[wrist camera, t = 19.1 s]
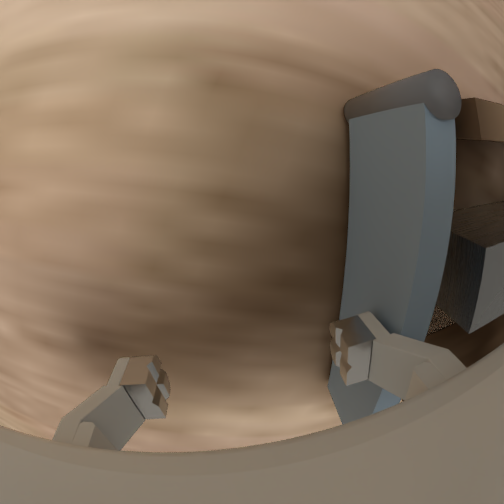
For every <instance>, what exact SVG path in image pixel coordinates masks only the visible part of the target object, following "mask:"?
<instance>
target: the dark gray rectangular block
mask: <svg viewBox="0 0 504 504" xmlns="http://www.w3.org/2000/svg"><path fill="white" fill-rule="evenodd" d="M436 305H437V306H438V307H439V308H440V309H441V310H443V311H444V312H445V313H446V314H447V315H448V316H449V317H451V318H452V319H453V320H454V321H455V322H456V323H457V324H458V325H459V326H461V327H462V328H463V329H464V330H465V331H466V332H467V333H468V334H470V333H472V332H473V331H475V330H477V329H479V328H481V327H482V326H484V325H486V324H487V323H489V322H491V321H492V320H494V319H496V318H497V317H499V316H501V315H502V314H504V201H502V202H496V203H491V204H486V205H481V206H476V207H471V208H466V209H461V210H455V211H453V215H452V224H451V231H450V238H449V244H448V250H447V256H446V261H445V266H444V271H443V276H442V280H441V285H440V289H439V293H438V297H437V301H436Z"/></svg>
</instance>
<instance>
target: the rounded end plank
mask: <svg viewBox="0 0 504 504" xmlns="http://www.w3.org/2000/svg"><path fill="white" fill-rule="evenodd" d="M460 110H461V96H460V92H459V89H458V87H457V85H456V83H455V82H454V80H453V79H452V78H451V77H450V76H449V75H448V74H447V73H446V72H444V71H442V70H439V69H433V70H430V71H427V72H424V73H420V74H417V75H414V76H411V77H408V78H405V79H402V80H400V81H397V82H394V83H391V84H388V85H386V86H383V87H380V88H378V89H375V90H373V91H370V92H368V93H365V94H363V95H360V96H358V97H355V98H353V99H350V100H349V101H348V102H347V103H346V105H345V107H344V115H345V118H346V120H347V122H348V123H349V134H350V195H349V220H348V237H347V251H346V263H345V274H344V284H343V293H342V301H341V309H340V316H339V320H342V319H346V318H349V317H353V316H356V315H358V314H361V313H364V312H367V311H369V312H371V313H372V314H373V315H374V316H375V317H376V319H377V320H378V321H379V322H380V323H381V324H382V325H383V326H384V328H385V329H386V330H387V331H388V332H389V333H390V334H392V333H396V334H399V335H402V336H405V337H409V338H412V339H415V340H418V341H422V342H424V341H425V338H426V335H427V332H428V328H429V325H430V322H431V319H432V315H433V312H434V308H435V305H436V301H437V297H438V293H439V289H440V285H441V280H442V276H443V271H444V266H445V261H446V256H447V250H448V244H449V238H450V231H451V224H452V215H453V206H454V194H455V176H456V131H455V118H456V117H457V116H458V115H459V113H460ZM328 389H329V391H330V394H331V396H332V399H333V401H334V404H335V407H336V409H337V412H338V414H339V417H340V419H341V422H342V424H346V423H349V422H352V421H355V420H358V419H360V418H363V417H366V416H369V415H371V414H374V413H377V412H379V411H382V410H384V409H387V408H389V407H392V406H394V405H396V404H399V402H400V400H401V398H399V397H398V396H396V395H394V394H392V393H390V392H388V391H387V390H385V389H383V388H381V387H380V386H378V385H376V384H374V383H373V382H371V381H369V379H367V380H364V381H361V382H358V383H355V384H351V385H348V386H346V384H345V383H344V381H343V379H342V377H341V375H340V367H338V366H336V365H335V363H334V361H332V366H331V372H330V377H329V382H328Z"/></svg>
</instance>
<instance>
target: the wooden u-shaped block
mask: <svg viewBox="0 0 504 504" xmlns="http://www.w3.org/2000/svg"><path fill="white" fill-rule="evenodd" d="M455 131H456V139H469V140H484V141H496V142H504V105H501V104H498V103H494V102H490V101H486V100H482V99H478V98H467V99H461V110H460V113H459V115H458V116H457V117H456V118H455ZM424 342H425V343H429V344H432V345H435V346H439V347H442V348H446V349H449V350H450V351H451V352H452V353H453V354H454V355H455V356H456V357H457V358H458V359H459V360H460V361H461V362H462V364H463V365H464V366H465V367H466V368H468V367H469V366H471V365H472V364H474V363H475V362H477V361H479V360H480V359H482V358H483V357H485V356H486V355H487V354H489V353H490V352H492V351H493V350H495V349H496V348H497V347H499V346H500V345H502V344H503V343H504V314H502V315H501V316H499V317H497V318H496V319H494V320H492V321H491V322H489V323H487V324H486V325H484V326H482V327H481V328H479V329H477V330H475V331H473V332H472V333H470V334H468V333H467V332H466V331H465V330H464V329H463V328H462V327H461V326H459V325H458V324H457V323H455V324H452V325H450V326H448V327H446V328H444V329H442V330H439V331H437V332H435V333H432V334H430V335H428V336H426V338H425V341H424ZM402 401H405V400H403V399H402Z"/></svg>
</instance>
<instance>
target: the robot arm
mask: <svg viewBox="0 0 504 504" xmlns="http://www.w3.org/2000/svg"><path fill="white" fill-rule="evenodd" d="M330 334H331V335H332V337H333V338H332V339H331V341H330V350H331V355H332V358H333V361H334V363H335V365H336V366H338V367H340V375H341V377H342V379H343V381H344V383H345V384H346V386H348V385H351V384H355V383H358V382H361V381H364V380H367V379H369V381H371V382H373V383H374V384H376V385H378V386H380V387H381V388H383V389H385V390H387V391H388V392H390V393H392V394H394V395H396V396H398V397H399V398H401V399H403V400H405V401H403V402H401V403H399V404H396V405H394V406H392V407H389V408H387V409H384V410H382V411H379V412H377V413H374V414H371V415H369V416H366V417H363V418H360V419H358V420H355V421H352V422H349V423H346V424H343V425H339V426H336V427H333V428H330V429H326V430H323V431H319V432H315V433H311V434H307V435H303V436H299V437H295V438H291V439H286V440H281V441H276V442H271V443H265V444H260V445H253V446H247V447H239V448H231V449H222V450H211V451H196V452H134V451H120V450H121V449H122V448H123V447H124V445H125V444H126V443H127V442H128V441H129V439H130V438H131V437H132V436H133V434H134V433H135V432H136V431H137V430H138V428H139V427H140V426H141V425H142V424H143V422H144V421H145V419H159V418H166V415H167V409H168V403H167V402H166V399H167V398H168V397H169V396H170V381H169V378H168V376H167V373H166V372H165V371H164V370H162V369H161V364H162V363H161V361H160V359H159V357H158V356H157V355H148V356H134V357H121V358H119V359H118V360H117V363H116V365H115V367H114V369H113V372H112V374H111V376H110V379H109V381H108V384H107V386H103V387H101V388H100V389H99V390H97V391H96V392H95V393H94V394H92V395H91V396H90V397H88V398H87V399H86V400H85V401H83V402H82V403H81V404H79V405H78V406H77V407H76V408H74V409H73V410H72V411H70V412H69V413H68V414H66V415H65V416H64V417H63V418H62V419H61V421H60V423H59V426H58V428H57V430H56V432H55V435H54V437H53V439H52V440H49V439H45V438H41V437H37V436H33V435H29V434H26V433H22V432H19V431H16V430H13V429H10V428H7V427H4V426H1V425H0V504H504V343H503V344H502V345H500V346H499V347H497V348H496V349H495V350H493V351H492V352H490V353H489V354H487V355H486V356H485V357H483V358H482V359H480V360H479V361H477V362H475V363H474V364H472V365H471V366H469V367H468V368H466V367H465V366H464V365H463V364H462V362H461V361H460V360H459V359H458V358H457V357H456V356H455V355H454V354H453V353H452V352H451V351H450V350H449V349H446V348H442V347H439V346H435V345H432V344H429V343H425V342H422V341H418V340H415V339H412V338H409V337H405V336H402V335H399V334H396V333H392V334H390V333H389V332H388V331H387V330H386V329H385V328H384V326H383V325H382V324H381V323H380V322H379V321H378V320H377V319H376V317H375V316H374V315H373V314H372V313H371V312H369V311H367V312H364V313H361V314H358V315H356V316H353V317H349V318H346V319H342V320H338V321H335V322H331V323H330Z"/></svg>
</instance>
